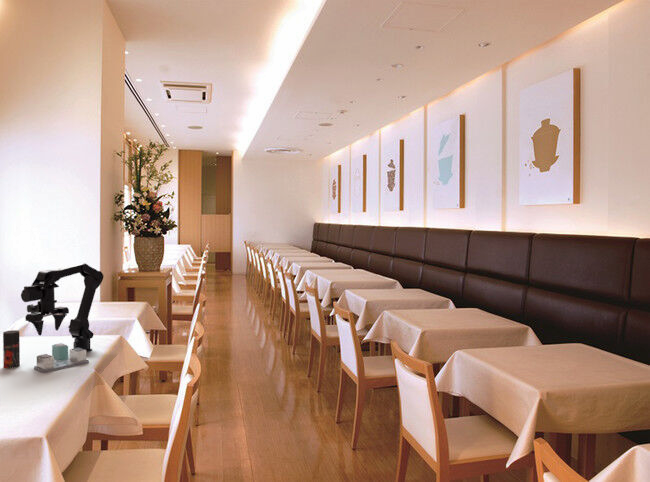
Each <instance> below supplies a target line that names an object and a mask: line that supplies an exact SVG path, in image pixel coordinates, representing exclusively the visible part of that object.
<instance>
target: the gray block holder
mask: <svg viewBox="0 0 650 482" xmlns="http://www.w3.org/2000/svg"><path fill="white" fill-rule="evenodd" d="M89 363H90V360H88V359H87V351H86V350H85V349H82V348H74V347H73V348H71V349H69V358H68V359H64V360H60V361H59V360H56V361H55V359H54V357H53V356H52V355H50V354H47V353H44V354H40V355H36V365H34V366H33V368H34V370H37V371H39V372H41V373H44V374H45V373H49V372H53V371H57V370H63V369H66V368H71V367H76V366H80V365H85V364H89Z"/></svg>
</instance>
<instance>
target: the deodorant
mask: <svg viewBox="0 0 650 482" xmlns="http://www.w3.org/2000/svg"><path fill="white" fill-rule="evenodd" d="M20 341H21V340H20V330H13V329H12V330H6V331H3V332H2V343H3V344H2V345H3V347H2V350H3V351H2V352H3V359H2V361H3V365H2V366H3V369H16V368H18V367H20V366H21V365H20V364H21V363H20V360H21V358H20V354H21V353H20V352H21V350H20V348H21V347H20V345H21V344H20Z"/></svg>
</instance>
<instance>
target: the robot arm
mask: <svg viewBox="0 0 650 482" xmlns="http://www.w3.org/2000/svg"><path fill="white" fill-rule="evenodd" d="M76 274H80V276H82V277H83V283H84V291H83V293H82V297H81V301H80V305H79V307H78V311H77V314H76V317H74V318H72V319H70V322H69V324H68V326H67V327H68V332H69V334H70V335H71V338H72V339H74V341H73V349H74V348H82V349H85V350H86V352H89V351H90V352H91V351H93V349H92V348H91V339H93V337H94V333H93V331H91V330H90V321H89V316H90V311H91V308H92V306H93V301H94V297H95V294H96V290H97V289H99V287H100V286H101V284H102V282H103V280H104V274H103V272H102V271H101V270H97V269H95V268H93V267H92V266H90V265H88V264H87V263H85V262H78V263H76V264H73V265H69V266H65V267H61V268H58V269H42V270H39V271H38V272H37V274H36V276H35V279H34V280H33V282H32V284H31V285H28V286H27V285H25V286H24V287H23V289H22V291H21V293H20V298H21V300H22V302H24V303H29V302H35V301H37V304H35V305H34V304H31V303H30V304H28V305H27V306H26V312H27V314H26V315H25V317H24V318H25V322H28V323H31V324H32V325H33V327H34V328H35V331H36V332H37V334H38V336H42V334H43V328H44V321H45V320H43V319H44V318H45V317H46V318H47V317H49V316H52V318H54V329H55V331H59V329H60V327H61V325H62V323H63V321H64V320H65V317H66V316H68V315H67V314H70V310H69V308H68V307H67V306H57V307H56V303H58V300H57V299H55V289H57V288H59V284H57V283H56V282H58V281H60V280H61V279H62V278H66V277H69V276H73V275H76Z"/></svg>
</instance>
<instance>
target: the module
mask: <svg viewBox="0 0 650 482" xmlns="http://www.w3.org/2000/svg"><path fill="white" fill-rule="evenodd" d="M51 348H52V349H51V354H52V355H51V356H53V357H54V360H56V361H62V360H66V359H69V345H67V344H64V343H61V342H60V343H56V344H52V345H51Z"/></svg>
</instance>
